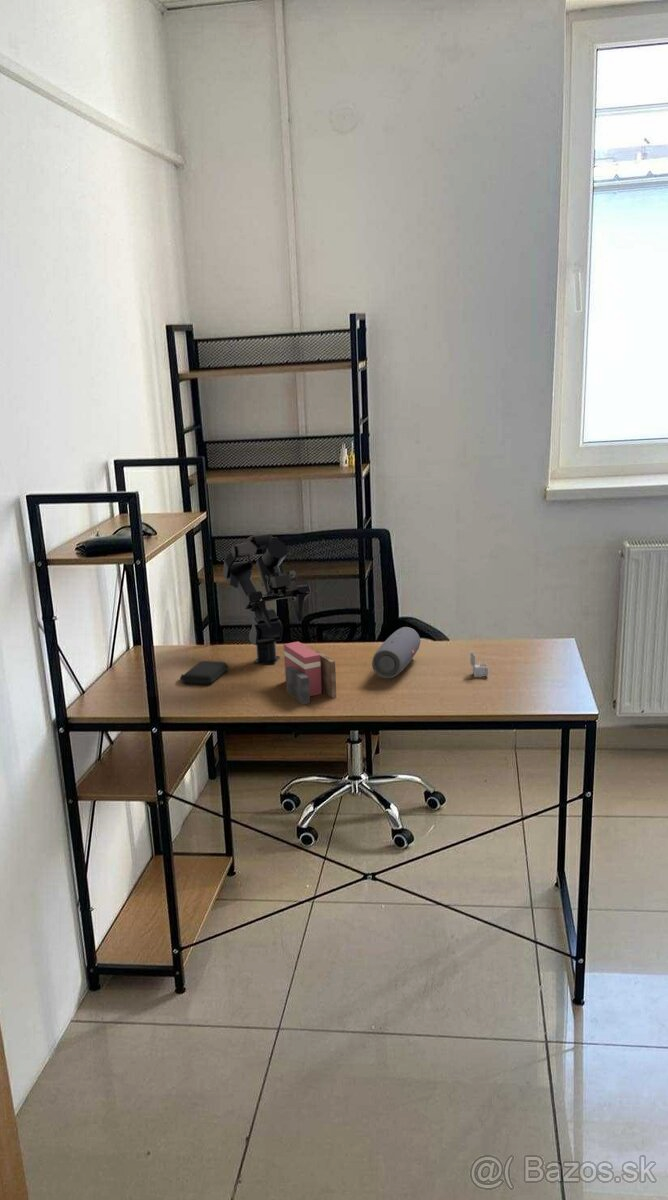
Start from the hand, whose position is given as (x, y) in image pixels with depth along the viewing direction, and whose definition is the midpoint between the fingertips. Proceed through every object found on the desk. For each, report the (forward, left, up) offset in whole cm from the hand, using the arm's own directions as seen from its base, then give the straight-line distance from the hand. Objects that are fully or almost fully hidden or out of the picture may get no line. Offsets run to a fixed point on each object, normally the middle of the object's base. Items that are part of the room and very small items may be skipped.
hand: (285, 624), depth 252 cm
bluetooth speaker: (-11, +29, -16) cm, 35 cm away
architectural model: (-14, +54, -16) cm, 58 cm away
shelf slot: (+13, +11, -16) cm, 23 cm away
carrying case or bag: (+3, -24, -16) cm, 29 cm away
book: (+8, +7, -16) cm, 19 cm away
